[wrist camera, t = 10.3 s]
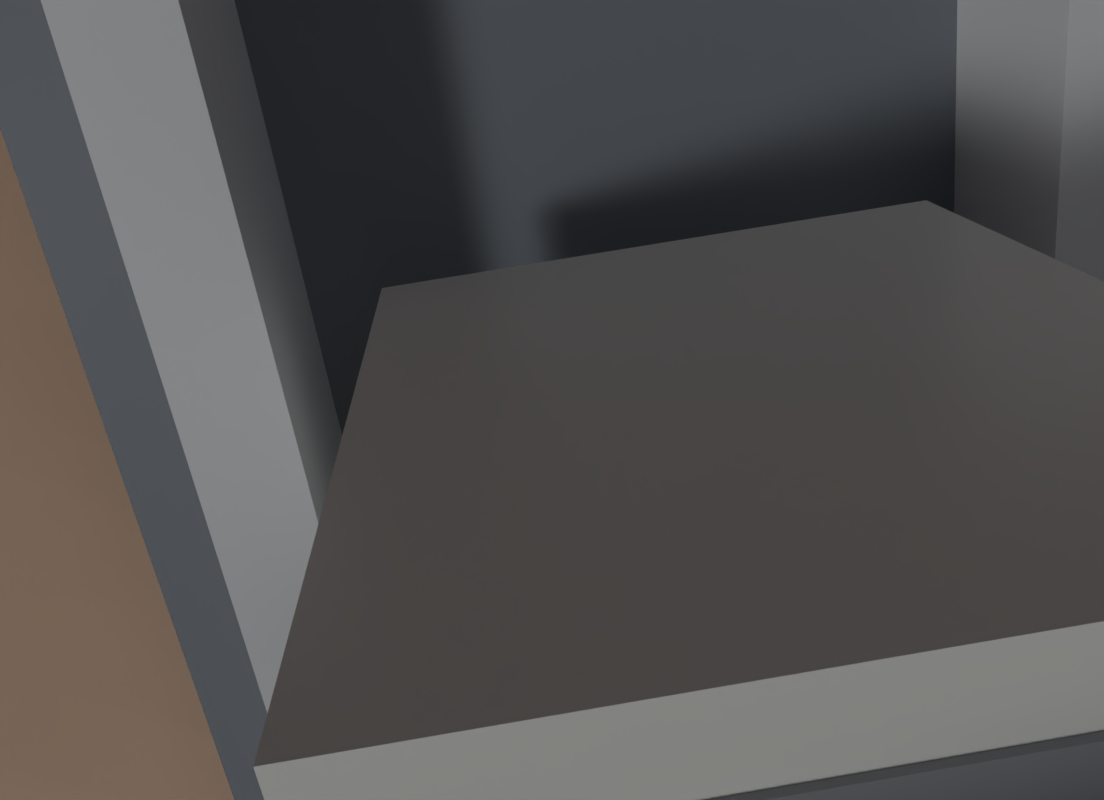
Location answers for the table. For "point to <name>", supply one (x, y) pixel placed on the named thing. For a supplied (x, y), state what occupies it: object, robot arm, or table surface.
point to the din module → (715, 529)
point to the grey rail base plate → (459, 208)
